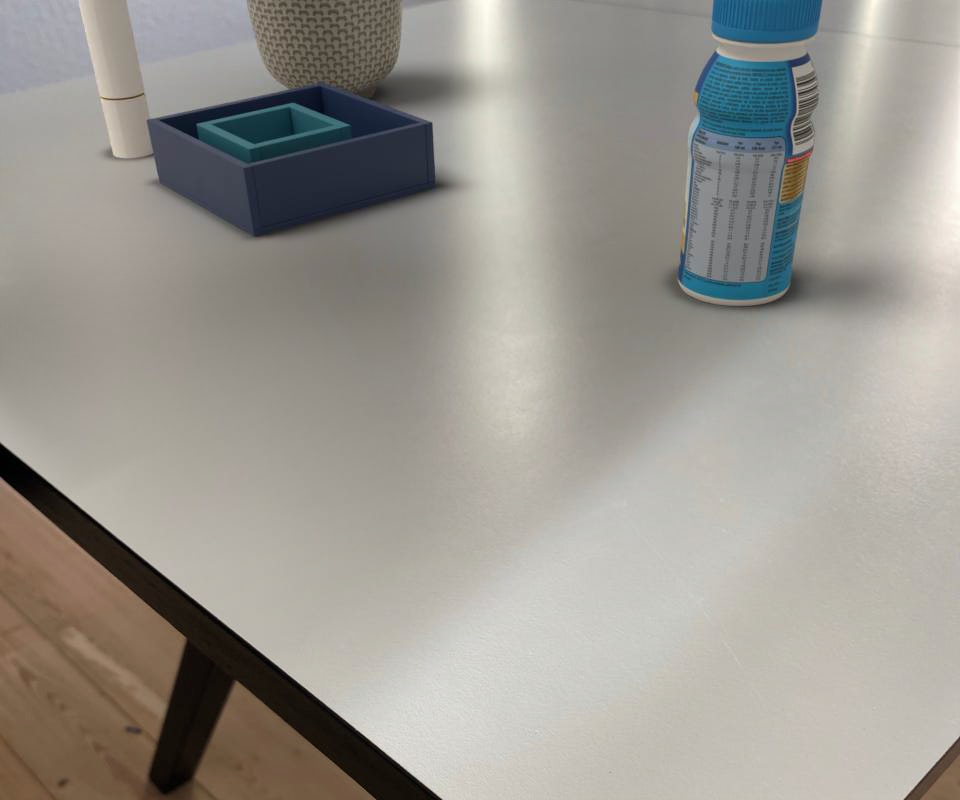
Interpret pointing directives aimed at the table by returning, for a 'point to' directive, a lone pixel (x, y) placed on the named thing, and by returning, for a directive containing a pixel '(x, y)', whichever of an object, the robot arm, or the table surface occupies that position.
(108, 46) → the tube
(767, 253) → the beverage bottle
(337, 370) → the table surface
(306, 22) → the planter
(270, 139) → the teal bin
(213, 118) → the navy bin
